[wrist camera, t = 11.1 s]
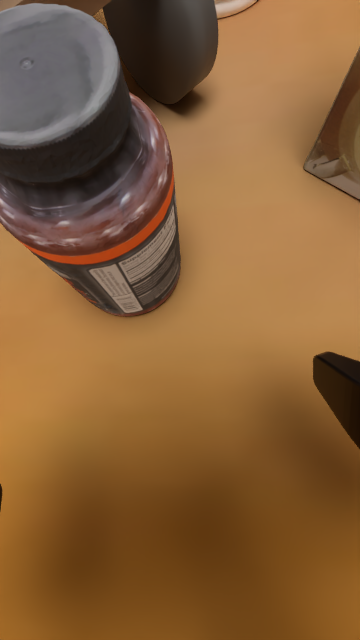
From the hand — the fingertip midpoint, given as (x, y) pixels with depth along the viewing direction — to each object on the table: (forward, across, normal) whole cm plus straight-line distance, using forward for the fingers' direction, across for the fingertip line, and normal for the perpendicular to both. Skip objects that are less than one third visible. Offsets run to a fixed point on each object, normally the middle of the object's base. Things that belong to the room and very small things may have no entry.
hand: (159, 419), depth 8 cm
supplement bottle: (+11, 0, 0) cm, 11 cm away
